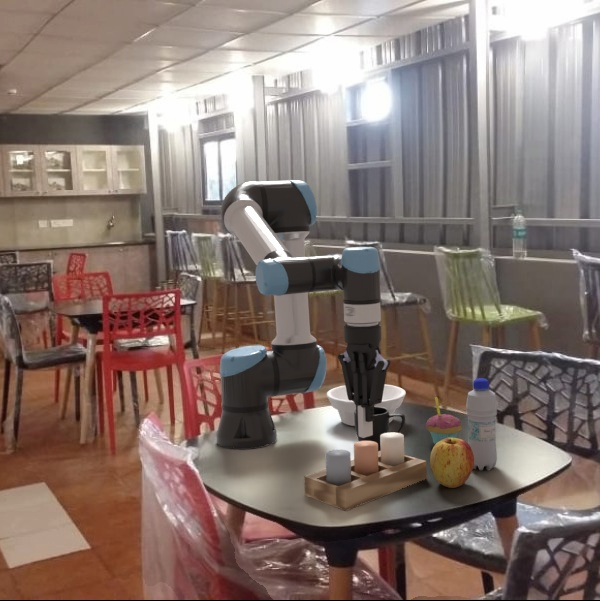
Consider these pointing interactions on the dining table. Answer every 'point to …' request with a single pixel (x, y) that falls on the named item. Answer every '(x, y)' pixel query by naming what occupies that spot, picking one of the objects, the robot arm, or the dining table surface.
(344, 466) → the blue-grey cylinder
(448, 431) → the cupcake
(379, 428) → the mug
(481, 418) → the bottle
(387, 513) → the dining table surface
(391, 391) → the bowl
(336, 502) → the wooden peg tray
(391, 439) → the white cylinder
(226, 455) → the dining table surface
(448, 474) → the apple
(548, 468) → the dining table surface
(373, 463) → the peach cylinder
